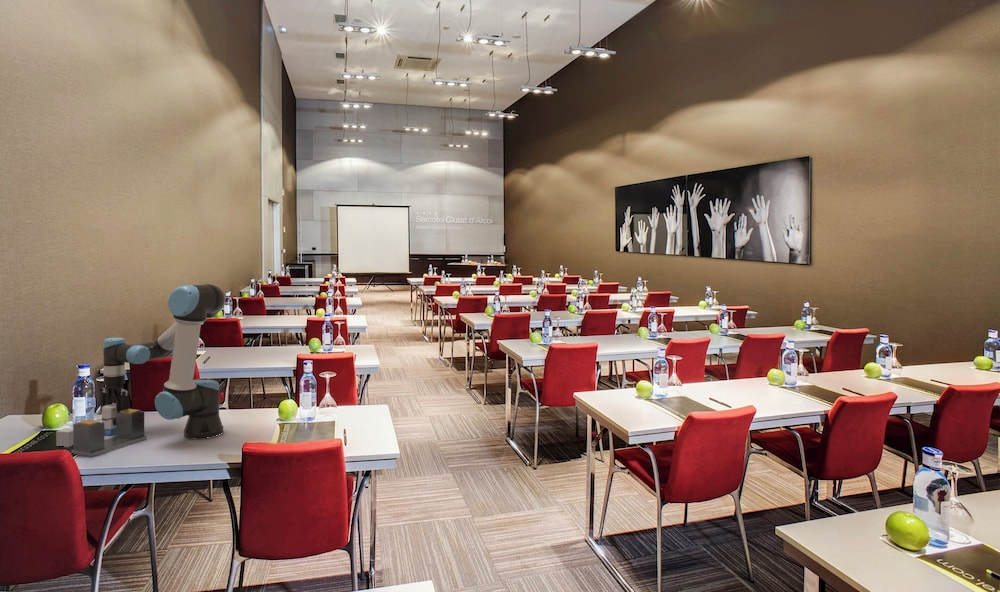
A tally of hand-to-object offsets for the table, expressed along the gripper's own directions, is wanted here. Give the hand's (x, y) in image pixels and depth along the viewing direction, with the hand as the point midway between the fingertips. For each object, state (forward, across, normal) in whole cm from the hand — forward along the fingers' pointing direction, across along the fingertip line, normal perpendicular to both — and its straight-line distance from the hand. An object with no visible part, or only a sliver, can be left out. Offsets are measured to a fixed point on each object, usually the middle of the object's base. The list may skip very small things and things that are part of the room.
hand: (114, 429), depth 259 cm
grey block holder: (+1, -14, +14) cm, 20 cm away
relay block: (+1, +2, +19) cm, 19 cm away
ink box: (+1, 0, 0) cm, 1 cm away
